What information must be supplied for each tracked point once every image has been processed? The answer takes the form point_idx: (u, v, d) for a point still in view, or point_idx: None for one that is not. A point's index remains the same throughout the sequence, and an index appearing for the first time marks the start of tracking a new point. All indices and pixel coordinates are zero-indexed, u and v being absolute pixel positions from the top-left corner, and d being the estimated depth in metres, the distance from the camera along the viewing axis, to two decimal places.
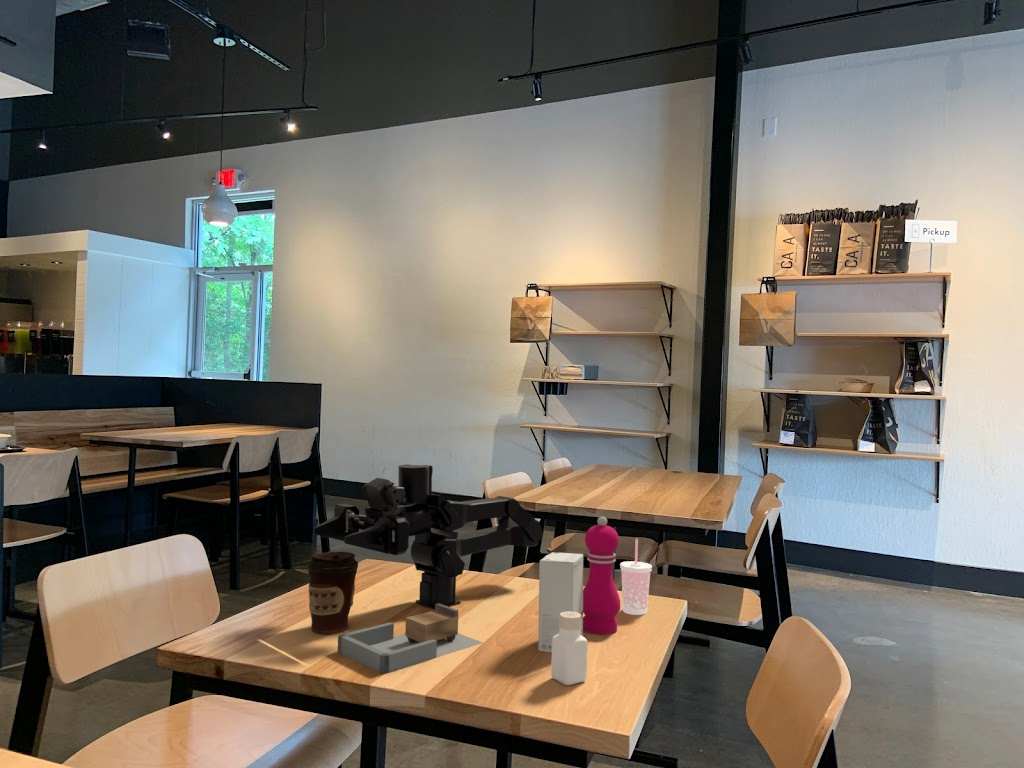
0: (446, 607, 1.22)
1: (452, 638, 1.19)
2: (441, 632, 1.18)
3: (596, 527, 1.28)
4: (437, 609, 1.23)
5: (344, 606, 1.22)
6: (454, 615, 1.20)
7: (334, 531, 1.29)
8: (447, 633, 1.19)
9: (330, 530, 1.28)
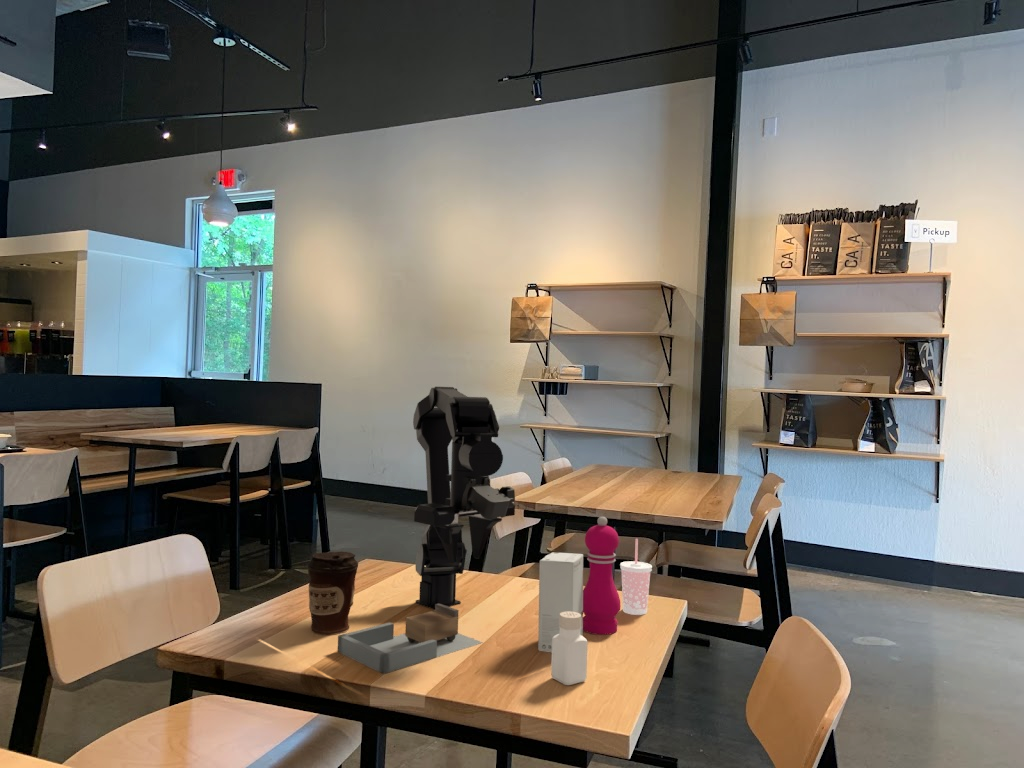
0: (446, 607, 1.22)
1: (452, 638, 1.19)
2: (441, 632, 1.18)
3: (596, 527, 1.28)
4: (437, 609, 1.23)
5: (344, 606, 1.22)
6: (454, 615, 1.20)
7: None
8: (447, 633, 1.19)
9: None
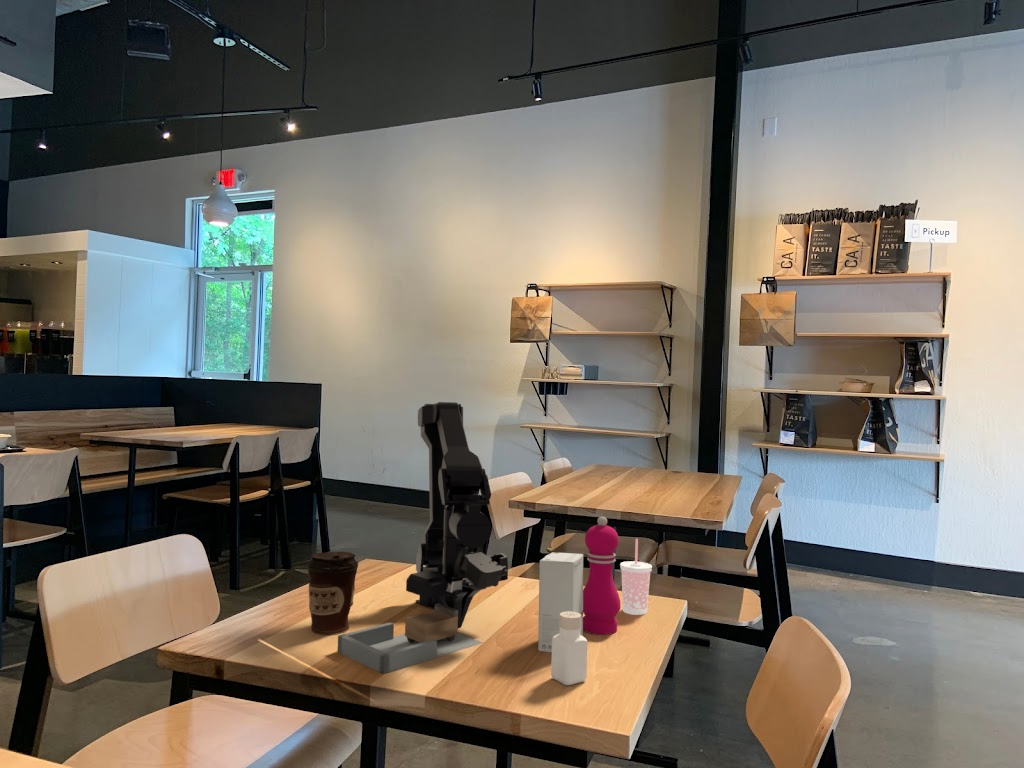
0: (446, 607, 1.21)
1: (452, 638, 1.19)
2: (440, 632, 1.17)
3: (596, 527, 1.28)
4: (437, 609, 1.23)
5: (344, 606, 1.22)
6: (454, 615, 1.20)
7: None
8: (447, 633, 1.19)
9: None
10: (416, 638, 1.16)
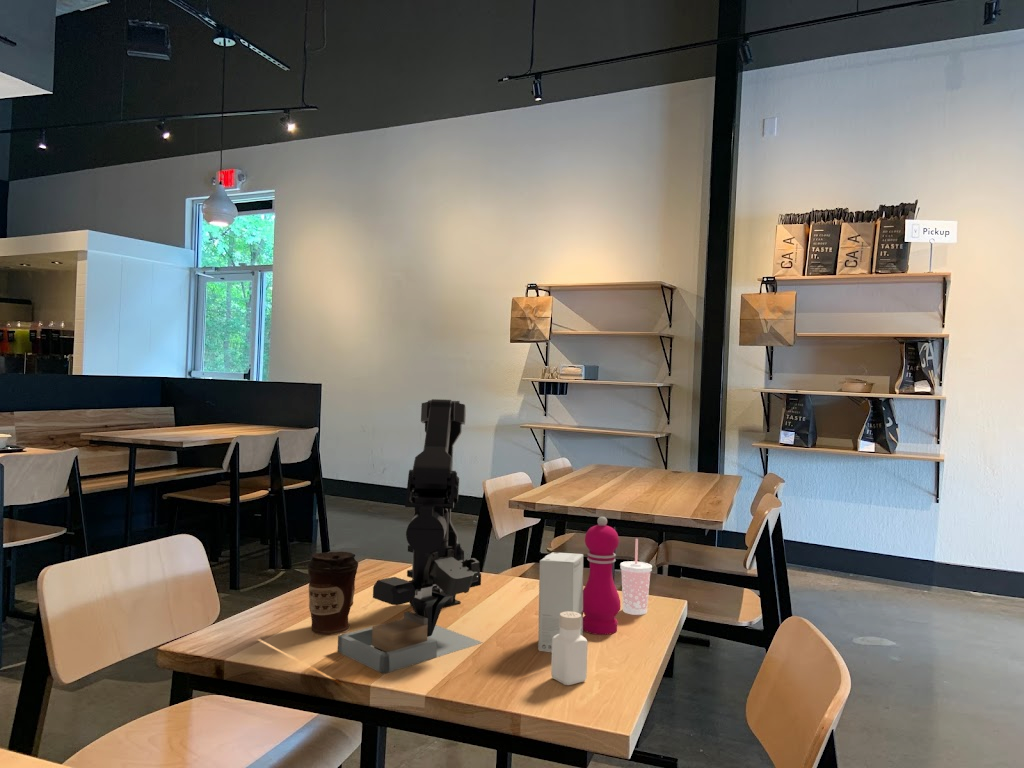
0: (415, 615, 1.17)
1: None
2: (409, 642, 1.13)
3: (596, 527, 1.28)
4: (406, 617, 1.18)
5: (344, 606, 1.22)
6: (423, 623, 1.15)
7: None
8: (416, 642, 1.14)
9: None
10: (383, 648, 1.12)
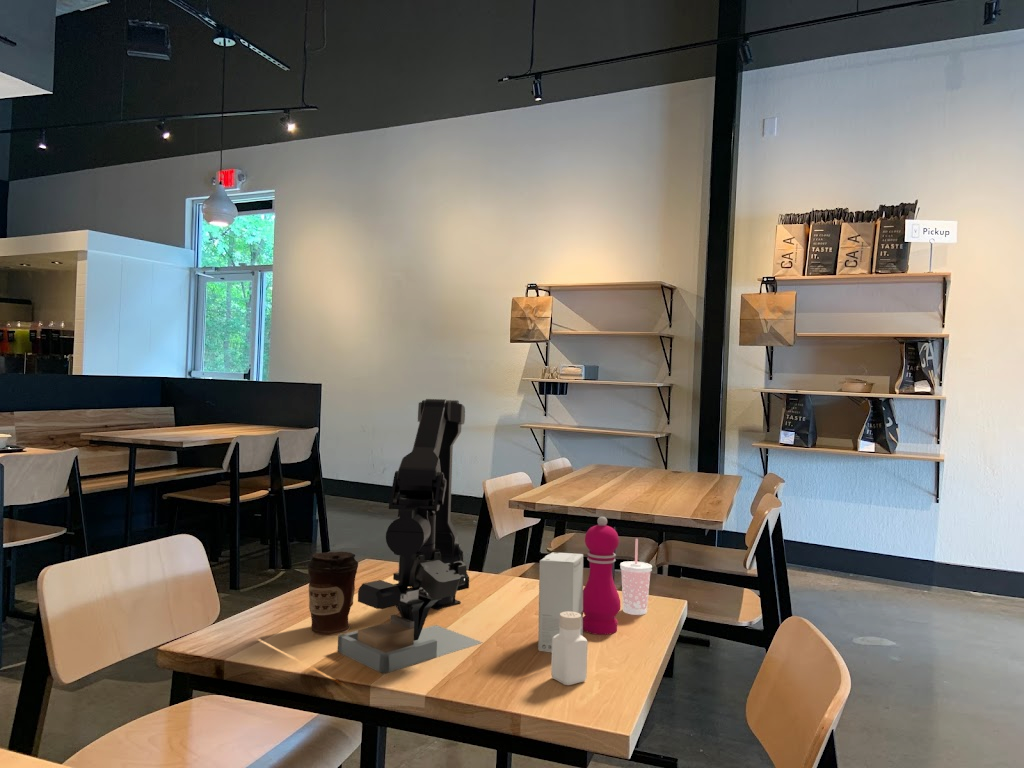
0: (402, 618, 1.15)
1: None
2: (394, 646, 1.11)
3: (596, 527, 1.28)
4: (392, 620, 1.16)
5: (344, 606, 1.22)
6: (409, 627, 1.13)
7: None
8: (402, 646, 1.12)
9: None
10: None
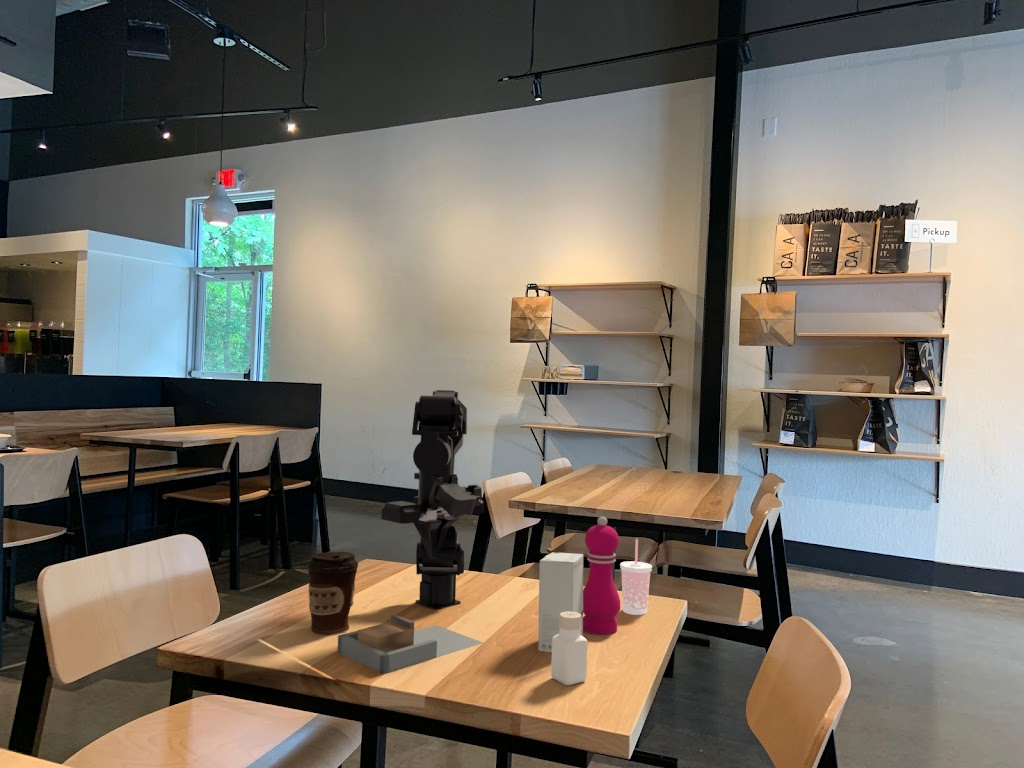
0: (402, 618, 1.15)
1: None
2: (394, 646, 1.11)
3: (596, 527, 1.28)
4: (392, 620, 1.16)
5: (344, 606, 1.22)
6: (409, 627, 1.13)
7: None
8: (402, 646, 1.12)
9: None
10: None
